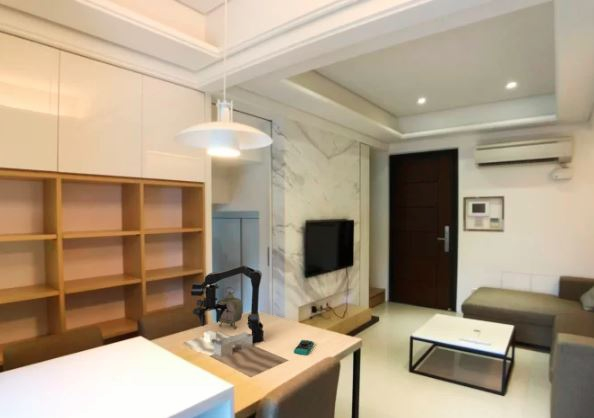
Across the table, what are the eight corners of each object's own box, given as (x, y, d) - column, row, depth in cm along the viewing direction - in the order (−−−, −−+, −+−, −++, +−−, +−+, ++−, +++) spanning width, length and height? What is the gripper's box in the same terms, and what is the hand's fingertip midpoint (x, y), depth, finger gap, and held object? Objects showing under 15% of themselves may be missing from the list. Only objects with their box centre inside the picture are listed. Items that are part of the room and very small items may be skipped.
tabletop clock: (216, 327, 218) (216, 287, 218) (224, 323, 227) (224, 284, 227) (235, 330, 213) (236, 289, 213) (243, 326, 221) (244, 286, 221)
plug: (208, 337, 199) (208, 330, 199) (229, 346, 186) (229, 339, 186) (202, 339, 196) (202, 331, 196) (222, 348, 183) (222, 341, 183)
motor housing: (245, 344, 189) (245, 332, 189) (252, 347, 185) (252, 334, 185) (213, 355, 174) (213, 342, 174) (220, 358, 170) (220, 345, 170)
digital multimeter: (314, 345, 192) (314, 340, 192) (307, 356, 178) (307, 350, 178) (301, 344, 194) (301, 338, 194) (293, 354, 180) (293, 349, 180)
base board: (219, 333, 208) (219, 331, 208) (288, 362, 170) (288, 360, 170) (183, 344, 191) (183, 342, 191) (250, 379, 152) (250, 377, 152)
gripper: (216, 290, 206) (216, 317, 206) (187, 296, 193) (187, 324, 193) (227, 294, 199) (227, 321, 199) (198, 300, 185) (198, 329, 185)
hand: (210, 324), depth 194 cm, fingers open, 9 cm apart
